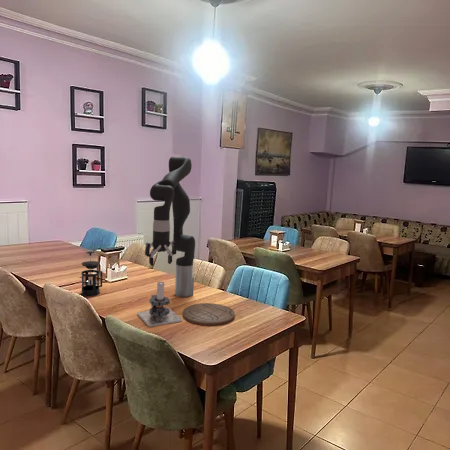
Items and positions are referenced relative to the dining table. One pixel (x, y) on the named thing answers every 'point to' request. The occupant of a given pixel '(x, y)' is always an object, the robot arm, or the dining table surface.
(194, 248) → the robot arm
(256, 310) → the dining table surface
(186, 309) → the trivet
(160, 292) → the tube
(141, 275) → the dining table surface
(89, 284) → the french press
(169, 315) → the collar stand
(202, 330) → the dining table surface
